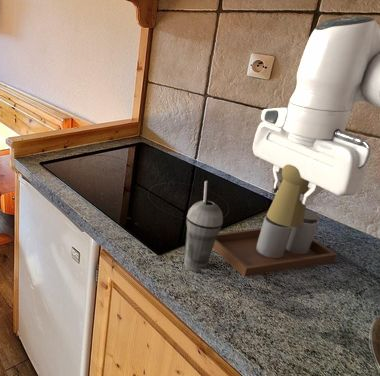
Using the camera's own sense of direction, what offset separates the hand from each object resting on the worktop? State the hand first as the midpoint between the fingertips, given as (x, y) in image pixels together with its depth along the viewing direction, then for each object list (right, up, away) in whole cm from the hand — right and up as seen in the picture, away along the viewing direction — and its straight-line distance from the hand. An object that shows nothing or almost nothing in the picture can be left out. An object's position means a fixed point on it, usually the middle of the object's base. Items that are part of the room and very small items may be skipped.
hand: (291, 196), depth 73 cm
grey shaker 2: (+14, -12, +22) cm, 29 cm away
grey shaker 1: (+7, -13, +20) cm, 25 cm away
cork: (0, -4, +2) cm, 5 cm away
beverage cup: (-12, -16, +16) cm, 25 cm away
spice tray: (+7, -14, +20) cm, 25 cm away
